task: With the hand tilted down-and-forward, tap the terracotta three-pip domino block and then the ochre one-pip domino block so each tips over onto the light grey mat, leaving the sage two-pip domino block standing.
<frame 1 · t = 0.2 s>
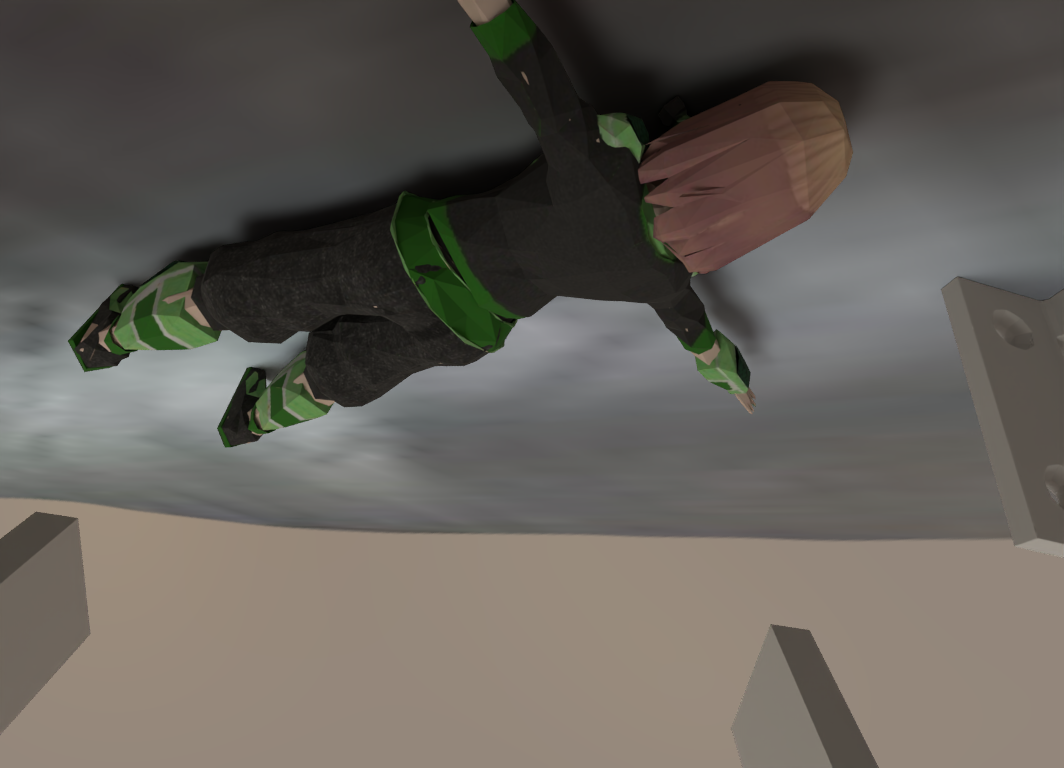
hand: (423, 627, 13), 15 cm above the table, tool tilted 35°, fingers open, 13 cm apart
figurine: (426, 233, 26), on the table
hinge: (1061, 342, 27), on the table
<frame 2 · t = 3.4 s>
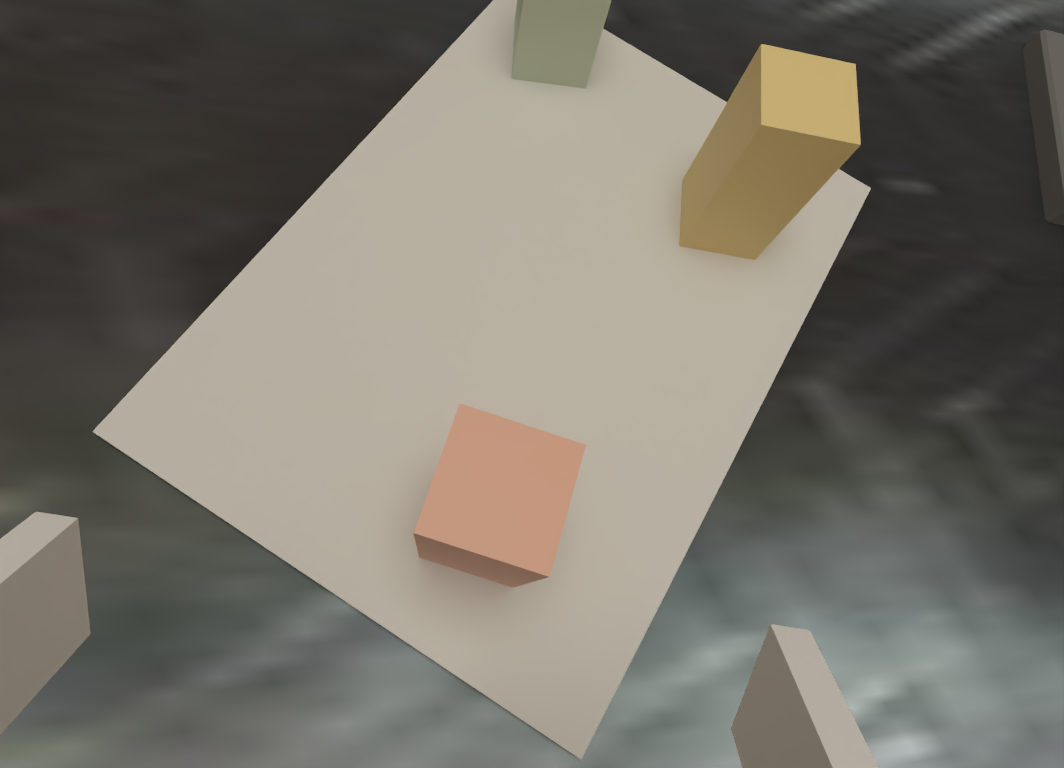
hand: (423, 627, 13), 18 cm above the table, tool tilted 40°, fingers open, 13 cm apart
domino block 1: (718, 219, 39), point 1 cm above the table, touching mat
domino block 3: (481, 524, 31), point 1 cm above the table, touching mat
mat: (540, 296, 36), on the table
domino block 2: (549, 54, 41), point 1 cm above the table, touching mat
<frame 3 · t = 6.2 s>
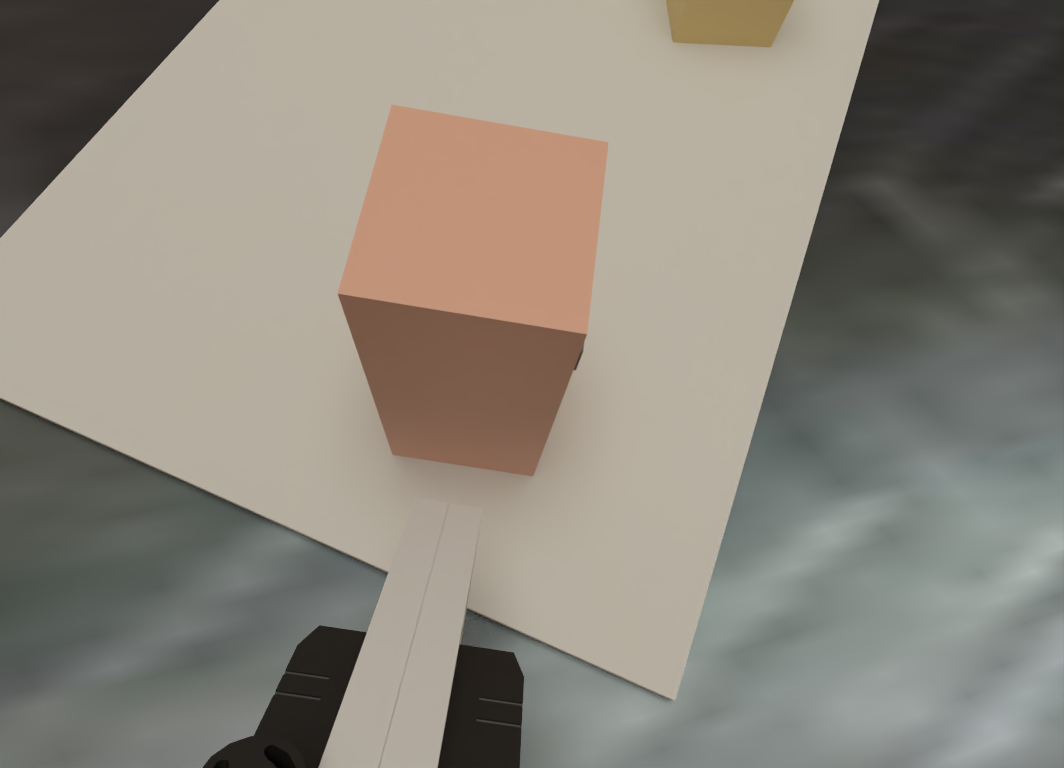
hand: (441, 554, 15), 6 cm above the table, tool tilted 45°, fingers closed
domino block 1: (714, 8, 30), point 1 cm above the table, touching mat
domino block 3: (474, 400, 22), point 1 cm above the table, touching mat
mat: (506, 121, 27), on the table
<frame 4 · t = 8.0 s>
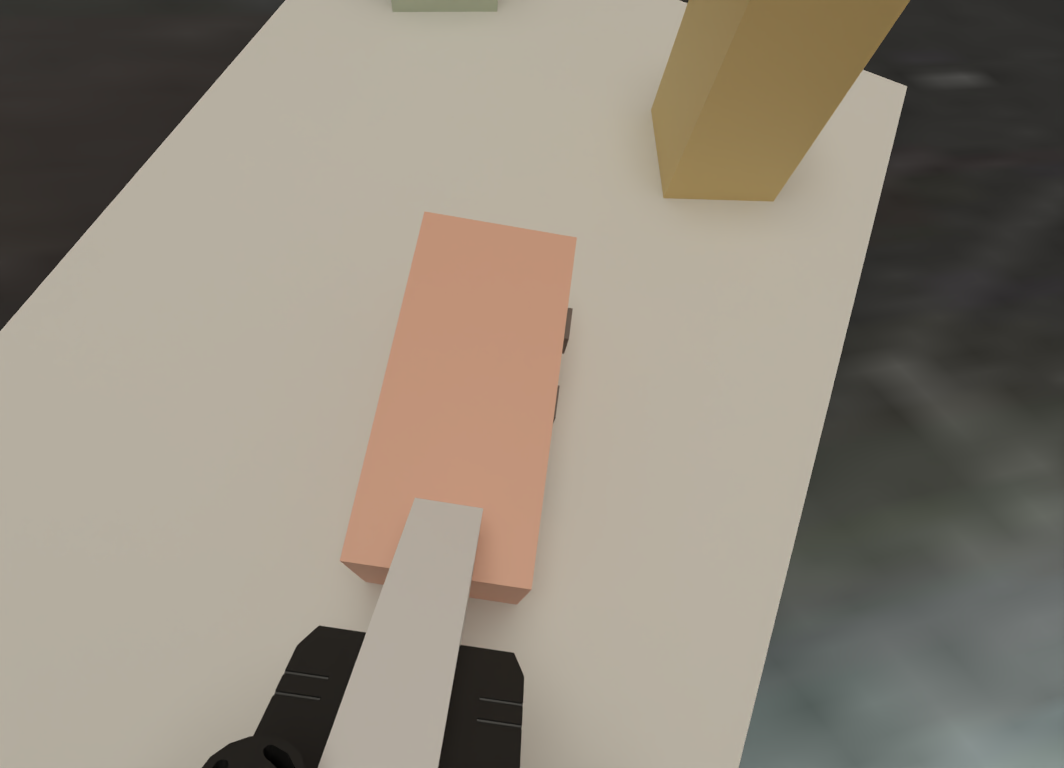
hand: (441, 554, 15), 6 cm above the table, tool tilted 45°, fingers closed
domino block 1: (710, 154, 27), point 1 cm above the table, touching mat
domino block 3: (439, 585, 18), point 3 cm above the table, tilted 90°, touching gripper, mat
mat: (473, 299, 24), on the table
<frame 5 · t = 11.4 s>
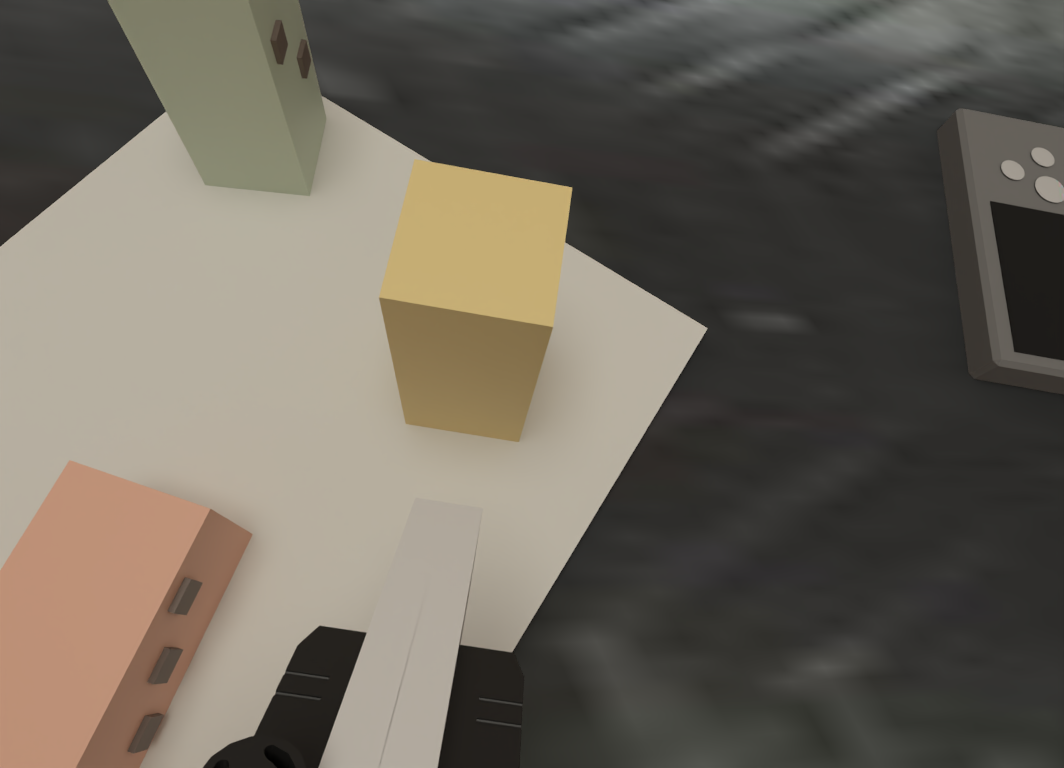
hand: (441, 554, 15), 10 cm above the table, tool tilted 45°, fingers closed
domino block 1: (472, 381, 27), point 1 cm above the table, touching mat
mat: (183, 504, 25), on the table
electronic device: (1038, 268, 34), on the table
domino block 2: (268, 150, 30), point 1 cm above the table, touching mat
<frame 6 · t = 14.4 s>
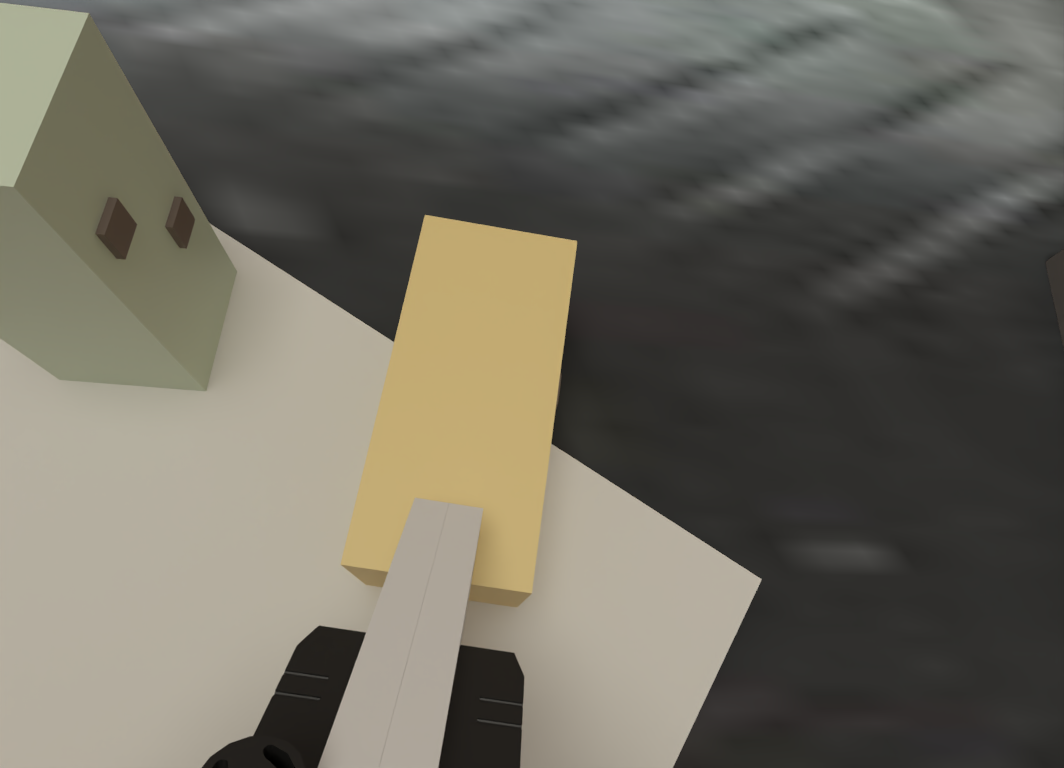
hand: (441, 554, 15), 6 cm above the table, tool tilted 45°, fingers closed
domino block 1: (439, 588, 18), point 3 cm above the table, tilted 90°, touching gripper, mat
domino block 2: (152, 323, 22), point 1 cm above the table, touching mat
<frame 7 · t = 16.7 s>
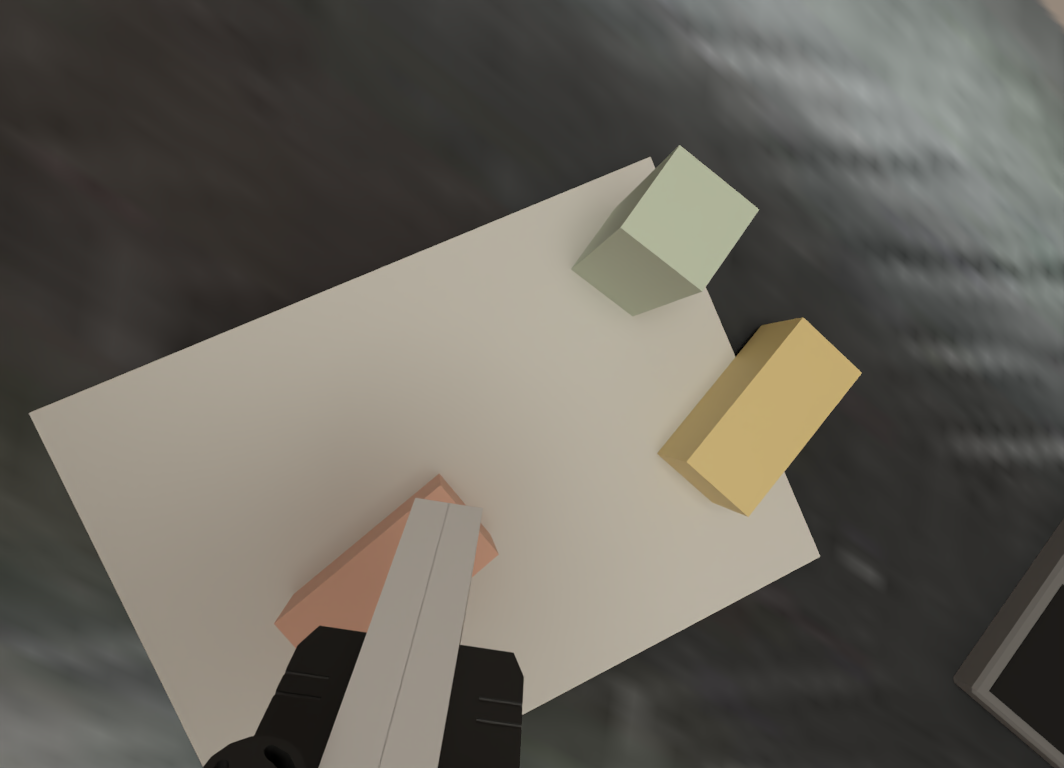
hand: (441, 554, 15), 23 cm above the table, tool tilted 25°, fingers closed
domino block 1: (700, 483, 37), point 3 cm above the table, tilted 90°, touching mat
domino block 3: (313, 641, 34), point 3 cm above the table, tilted 90°, touching mat
mat: (459, 489, 38), on the table
electronic device: (1060, 629, 44), on the table
domino block 2: (624, 262, 39), point 1 cm above the table, touching mat
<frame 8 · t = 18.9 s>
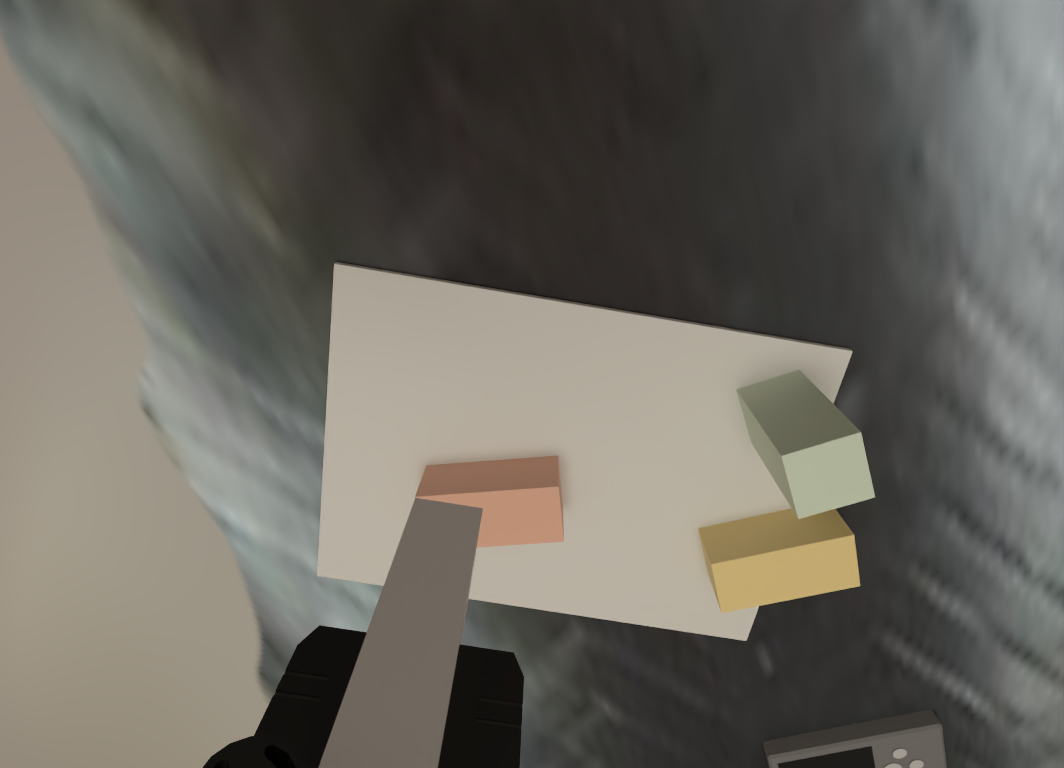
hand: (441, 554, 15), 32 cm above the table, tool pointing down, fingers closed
domino block 1: (709, 569, 50), point 3 cm above the table, tilted 90°, touching mat
domino block 3: (425, 507, 49), point 3 cm above the table, tilted 90°, touching mat
mat: (562, 468, 51), on the table
electronic device: (849, 758, 62), on the table
domino block 2: (774, 407, 48), point 1 cm above the table, touching mat
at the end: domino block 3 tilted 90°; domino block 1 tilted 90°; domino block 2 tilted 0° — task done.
